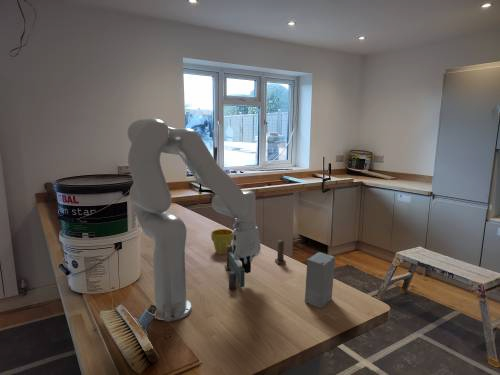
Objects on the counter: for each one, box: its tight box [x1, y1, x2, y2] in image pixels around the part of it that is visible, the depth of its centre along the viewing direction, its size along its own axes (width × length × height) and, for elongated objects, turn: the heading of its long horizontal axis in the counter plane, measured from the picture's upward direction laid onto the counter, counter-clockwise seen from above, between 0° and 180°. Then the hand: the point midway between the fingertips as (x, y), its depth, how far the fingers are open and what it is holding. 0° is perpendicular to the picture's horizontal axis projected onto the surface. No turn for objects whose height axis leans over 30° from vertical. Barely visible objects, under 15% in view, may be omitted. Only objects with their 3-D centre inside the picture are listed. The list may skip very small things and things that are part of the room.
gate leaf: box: [229, 252, 246, 288], centre depth 124 cm, size 18×2×7 cm, turn 16°
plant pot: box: [210, 228, 234, 255], centre depth 154 cm, size 10×10×10 cm
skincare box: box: [304, 251, 336, 309], centre depth 108 cm, size 8×7×16 cm
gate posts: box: [224, 239, 287, 291], centre depth 129 cm, size 28×20×10 cm
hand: (246, 271), depth 122 cm, fingers closed
